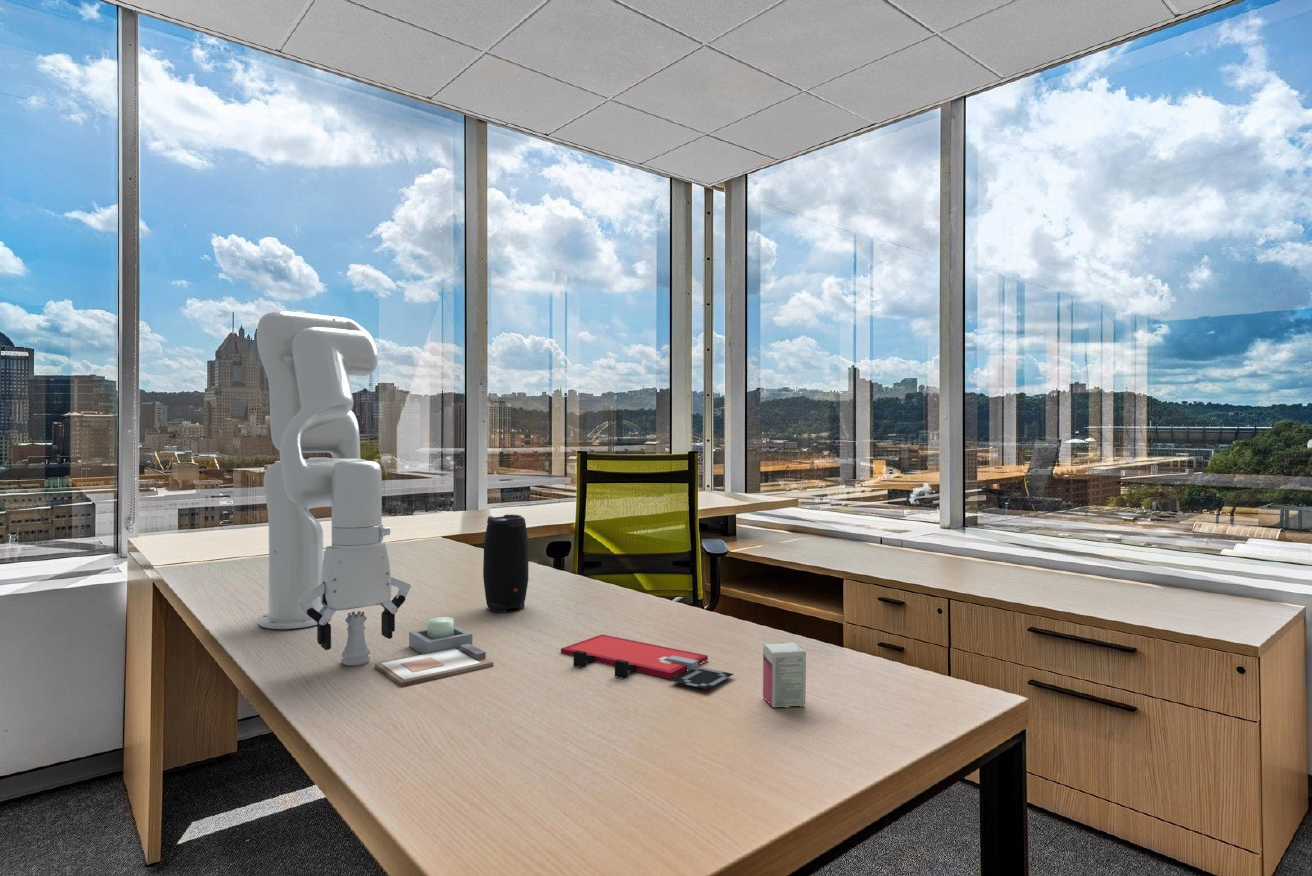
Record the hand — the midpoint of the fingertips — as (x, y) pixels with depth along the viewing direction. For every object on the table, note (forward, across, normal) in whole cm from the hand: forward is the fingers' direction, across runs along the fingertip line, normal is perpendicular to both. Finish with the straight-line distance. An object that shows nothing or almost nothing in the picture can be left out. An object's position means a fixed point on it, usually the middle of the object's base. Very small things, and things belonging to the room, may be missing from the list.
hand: (357, 642), depth 117 cm
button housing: (+3, -14, 0) cm, 14 cm away
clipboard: (+4, -9, +9) cm, 13 cm away
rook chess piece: (+4, 0, -1) cm, 4 cm away
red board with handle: (+5, -36, +29) cm, 47 cm away
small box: (+5, -41, +54) cm, 68 cm away
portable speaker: (+3, -36, -17) cm, 40 cm away
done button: (+2, -14, 0) cm, 14 cm away
